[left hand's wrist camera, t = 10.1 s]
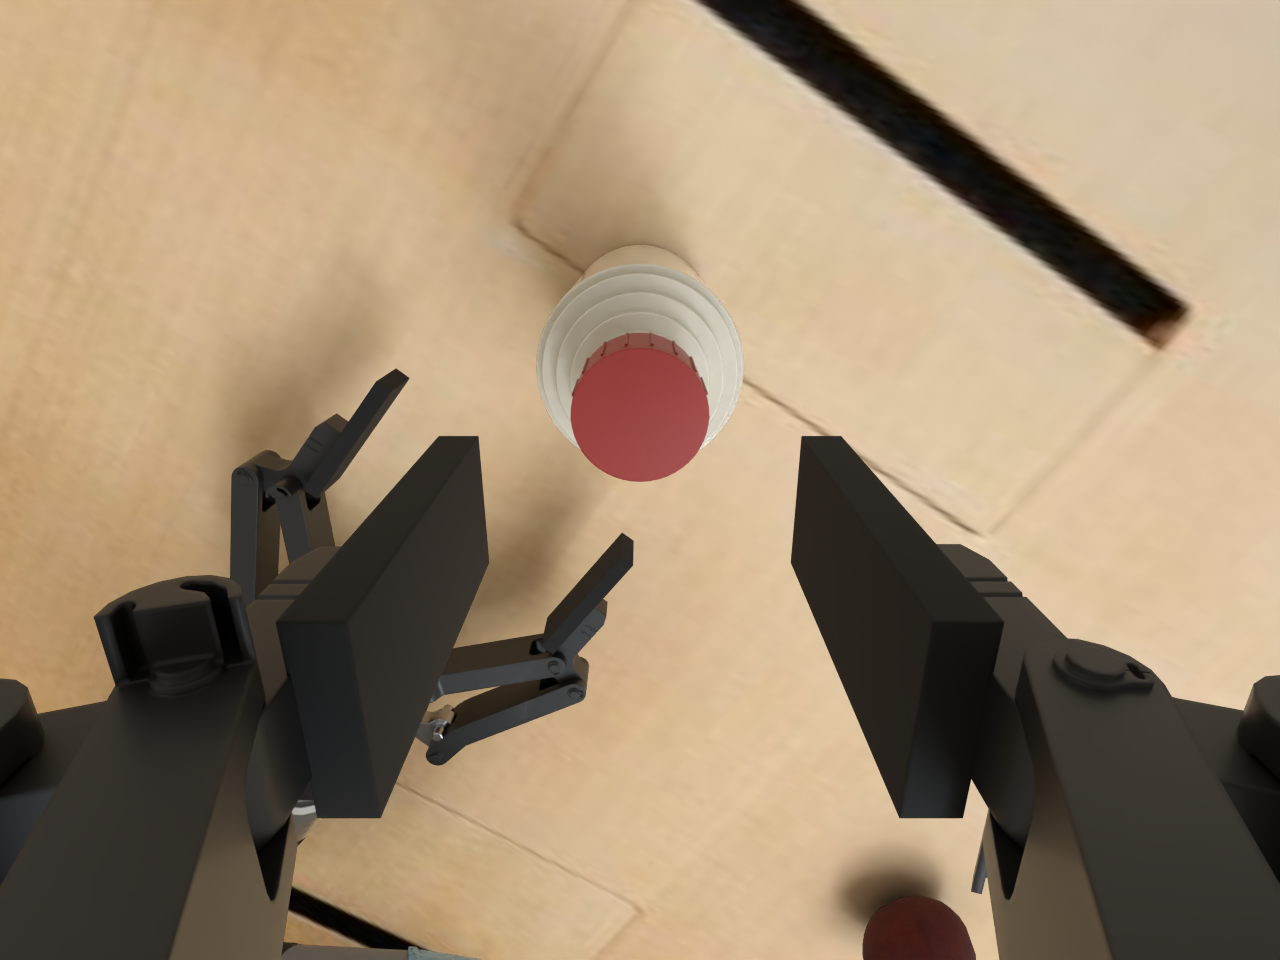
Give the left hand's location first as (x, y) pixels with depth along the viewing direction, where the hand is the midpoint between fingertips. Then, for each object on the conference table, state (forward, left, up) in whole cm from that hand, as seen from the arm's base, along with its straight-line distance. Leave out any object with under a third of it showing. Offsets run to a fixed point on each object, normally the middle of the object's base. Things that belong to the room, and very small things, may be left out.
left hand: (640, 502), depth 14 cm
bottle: (0, 0, -25) cm, 25 cm away
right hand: (+8, +4, -19) cm, 21 cm away
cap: (0, 0, -6) cm, 6 cm away
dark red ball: (-3, +47, -25) cm, 53 cm away
